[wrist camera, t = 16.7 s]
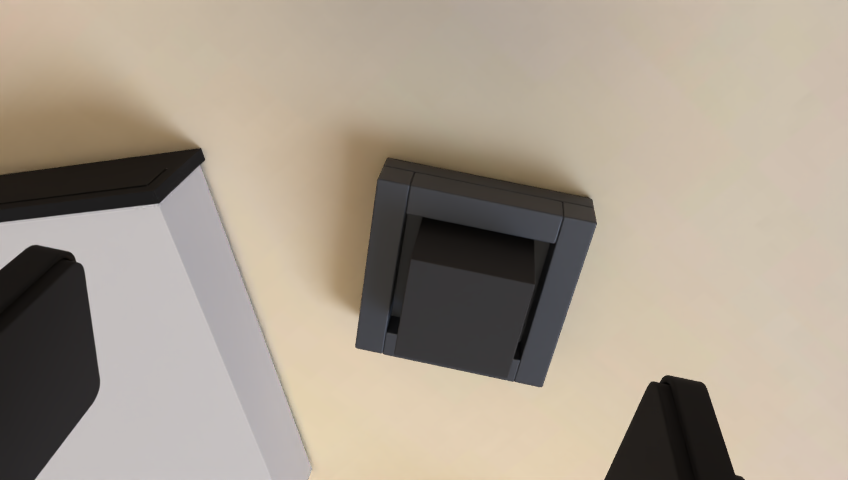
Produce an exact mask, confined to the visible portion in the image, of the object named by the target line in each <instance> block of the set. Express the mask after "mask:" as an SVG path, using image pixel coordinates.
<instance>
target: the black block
mask: <svg viewBox="0 0 848 480" xmlns="http://www.w3.org/2000/svg"><path fill="white" fill-rule="evenodd" d="M534 287H535V245H534V240H533V239H529V238H524V237H519V236H514V235H509V234H504V233H499V232H494V231H489V230H484V229H479V228H475V227H470V226H465V225H460V224H455V223H450V222H445V221H440V220H435V219H430V218H426V217H423V218H422V221H421V224H420V228H419V231H418V235H417V238H416V242H415V245H414V249H413V252H412V255H411V259H410V264H409V270H408V276H407V282H406V287H405V293H404V299H403V305H402V310H401V316H400V322H399V328H398V334H397V339H396V345H395V351H394V354H395V355H398V356H403V357H408V358H413V359H417V360H422V361H427V362H431V363H436V364H441V365H446V366H450V367H455V368H460V369H464V370H469V371H474V372H479V373H483V374H488V375H493V376H497V377H502V378H508V375H509V372H510V369H511V365H512V362H513V359H514V355H515V352H516V348H517V345H518V342H519V338H520V335H521V331H522V328H523V325H524V321H525V318H526V315H527V311H528V308H529V304H530V301H531V298H532V294H533V291H534Z"/></svg>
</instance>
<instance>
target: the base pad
mask: <svg viewBox="0 0 848 480" xmlns="http://www.w3.org/2000/svg"><path fill="white" fill-rule="evenodd" d="M423 217H426V218H430V219H435V220H440V221H445V222H450V223H455V224H460V225H465V226H470V227H475V228H479V229H484V230H489V231H494V232H499V233H504V234H509V235H514V236H519V237H524V238H529V239H533V240H534V245H535V287H534V291H533V294H532V298H531V301H530V304H529V308H528V311H527V315H526V318H525V321H524V325H523V328H522V331H521V335H520V338H519V342H518V345H517V348H516V352H515V355H514V359H513V362H512V365H511V369H510V372H509V375H508V378H502V377H497V376H493V375H488V374H483V373H479V372H474V371H469V370H464V369H460V368H455V367H450V366H446V365H441V364H436V363H431V362H427V361H422V360H417V359H413V358H408V357H403V356H398V355H395V354H394V351H395V345H396V339H397V334H398V328H399V322H400V316H401V310H402V305H403V299H404V293H405V287H406V282H407V276H408V270H409V264H410V259H411V255H412V252H413V249H414V245H415V242H416V238H417V235H418V231H419V228H420V224H421V221H422V218H423ZM596 225H597V222H596V217H595V211H594V207H593V201H592V199H590V198H585V197H580V196H575V195H570V194H565V193H560V192H555V191H550V190H545V189H540V188H535V187H530V186H525V185H520V184H515V183H510V182H505V181H500V180H495V179H490V178H485V177H480V176H475V175H471V174H466V173H461V172H456V171H451V170H446V169H441V168H436V167H431V166H426V165H421V164H416V163H411V162H406V161H401V160H396V159H391V158H387V160H386V162H385V164H384V167H383V169H382V171H381V173H380V175H379V177H378V180H377V187H376V194H375V202H374V209H373V217H372V224H371V232H370V239H369V247H368V254H367V262H366V269H365V277H364V284H363V292H362V299H361V307H360V314H359V322H358V329H357V337H356V344H355V347H356V348H358V349H363V350H368V351H372V352H377V353H383V354H385V355H390V356H394V357H399V358H404V359H409V360H413V361H418V362H423V363H427V364H432V365H437V366H442V367H446V368H451V369H456V370H460V371H465V372H470V373H475V374H479V375H484V376H489V377H494V378H498V379H503V380H508V381H512V382H513V381H515V382H518V383H523V384H527V385H532V386H537V387H542V386H543V383H544V380H545V377H546V374H547V371H548V368H549V365H550V362H551V359H552V356H553V353H554V350H555V347H556V344H557V341H558V338H559V335H560V332H561V329H562V326H563V323H564V320H565V317H566V314H567V311H568V308H569V305H570V302H571V299H572V296H573V293H574V290H575V287H576V284H577V281H578V279H579V276H580V273H581V270H582V267H583V264H584V261H585V258H586V255H587V252H588V249H589V246H590V243H591V240H592V237H593V234H594V231H595V228H596Z"/></svg>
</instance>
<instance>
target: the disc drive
mask: <svg viewBox="0 0 848 480" xmlns="http://www.w3.org/2000/svg"><path fill="white" fill-rule="evenodd" d="M204 161H205V158H204V155H203V153H202V150H201V148H199V149H192V150H185V151H177V152H170V153H163V154H155V155H148V156H140V157H133V158H126V159H118V160H111V161H104V162H96V163H89V164H81V165H74V166H67V167H59V168H52V169H45V170H37V171H30V172H22V173H15V174H8V175H0V270H1V269H2V268H3V267H4V266H6V265H7V264H8V263H9V262H10V261H12V260H13V259H14V258H15V257H16V256H18V255H19V254H20V253H21V252H22V251H24V250H25V249H26V248H28V247H29V246H31V245H40V246H45V247H50V248H55V249H60V250H64V251H69V252H71V253H72V254H73V255H74V256H75V259H76V262H78V263H81V264H82V265H83V267H84V271H85V278H86V285H87V292H88V298H89V305H90V312H91V319H92V326H93V333H94V340H95V347H96V354H97V361H98V368H99V375H100V388H99V392H98V395H97V397H96V399H95V401H94V402H93V404H92V405H91V407H90V408H89V409H88V411H87V412H86V413H85V414H84V416H83V417H82V418H81V420H80V421H79V422H78V424H77V425H76V426H75V428H74V429H73V430H72V432H71V433H70V434H69V436H68V437H67V438H66V439H65V441H64V442H63V443H62V445H61V446H60V447H59V449H58V450H57V451H56V453H55V454H54V455H53V457H52V458H51V459H50V461H49V462H48V463H47V464H46V466H45V467H44V468H43V470H42V471H41V472H40V474H39V475H38V476H37V478H36V479H35V480H308V479H309V476H310V473H311V470H312V467H311V464H310V462H309V459H308V456H307V454H306V451H305V448H304V445H303V443H302V440H301V437H300V435H299V432H298V429H297V426H296V424H295V421H294V418H293V416H292V413H291V410H290V407H289V405H288V402H287V399H286V397H285V394H284V391H283V388H282V386H281V383H280V380H279V378H278V375H277V372H276V369H275V367H274V364H273V361H272V359H271V356H270V353H269V350H268V348H267V345H266V342H265V340H264V337H263V334H262V331H261V329H260V326H259V323H258V321H257V318H256V315H255V312H254V310H253V307H252V304H251V302H250V299H249V296H248V293H247V291H246V288H245V285H244V283H243V280H242V277H241V274H240V272H239V269H238V266H237V264H236V261H235V258H234V255H233V253H232V250H231V247H230V245H229V242H228V239H227V236H226V234H225V231H224V228H223V226H222V223H221V220H220V217H219V215H218V212H217V209H216V207H215V204H214V201H213V198H212V196H211V193H210V190H209V188H208V185H207V182H206V179H205V177H204V174H203V171H202V169H201V166H200V164H201V163H202V162H204Z"/></svg>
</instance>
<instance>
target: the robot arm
mask: <svg viewBox="0 0 848 480" xmlns="http://www.w3.org/2000/svg"><path fill="white" fill-rule="evenodd" d="M99 388H100V375H99V368H98V361H97V354H96V347H95V340H94V333H93V326H92V319H91V312H90V305H89V298H88V292H87V285H86V278H85V271H84V267H83V265H82V264H81V263H78V262H76V259H75V256H74V255H73V254H72V253H71V252H69V251H64V250H60V249H55V248H50V247H45V246H40V245H31V246H29V247H28V248H26V249H25V250H24V251H22V252H21V253H20V254H19V255H18V256H16V257H15V258H14V259H13V260H12V261H10V262H9V263H8V264H7V265H6V266H4V267H3V268H2V269H1V270H0V480H35V479H36V478H37V476H38V475H39V474H40V472H41V471H42V470H43V468H44V467H45V466H46V464H47V463H48V462H49V461H50V459H51V458H52V457H53V455H54V454H55V453H56V451H57V450H58V449H59V447H60V446H61V445H62V443H63V442H64V441H65V439H66V438H67V437H68V436H69V434H70V433H71V432H72V430H73V429H74V428H75V426H76V425H77V424H78V422H79V421H80V420H81V418H82V417H83V416H84V414H85V413H86V412H87V411H88V409H89V408H90V407H91V405H92V404H93V402H94V401H95V399H96V397H97V395H98V392H99ZM604 480H745V479H744V478H743V477H741V476H737V475H735V473H734V470H733V467H732V464H731V461H730V458H729V455H728V451H727V448H726V445H725V442H724V439H723V436H722V433H721V430H720V427H719V424H718V421H717V418H716V415H715V412H714V409H713V406H712V403H711V399H710V396H709V393H708V390H707V388H706V386H705V384H703V383H702V382H698V381H693V380H688V379H684V378H679V377H674V376H669V375H667V376H664V377H663V378H662V380H661V381H660V383H658V382H651V383H650V384H649V385H648V387H647V389H646V391H645V393H644V395H643V397H642V400H641V402H640V404H639V406H638V408H637V410H636V413H635V415H634V417H633V419H632V421H631V423H630V426H629V428H628V430H627V432H626V434H625V436H624V438H623V441H622V443H621V445H620V447H619V449H618V451H617V454H616V456H615V458H614V460H613V462H612V464H611V467H610V469H609V471H608V473H607V475H606V477H605V479H604Z"/></svg>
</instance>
